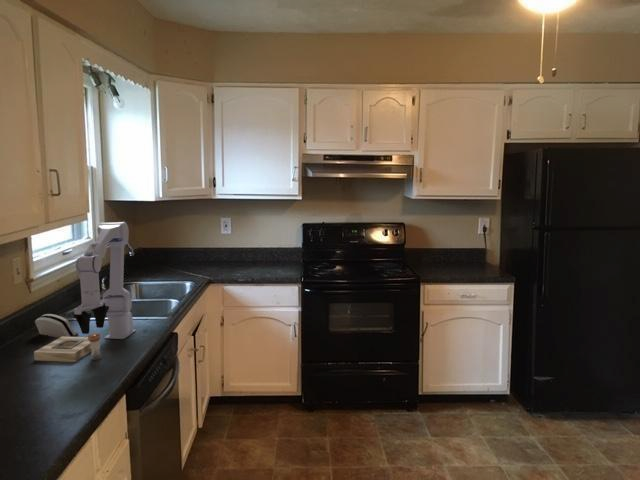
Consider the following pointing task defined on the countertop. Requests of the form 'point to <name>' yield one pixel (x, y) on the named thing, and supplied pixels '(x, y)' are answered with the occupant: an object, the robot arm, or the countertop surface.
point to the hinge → (55, 326)
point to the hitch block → (64, 349)
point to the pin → (95, 346)
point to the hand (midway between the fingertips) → (93, 330)
